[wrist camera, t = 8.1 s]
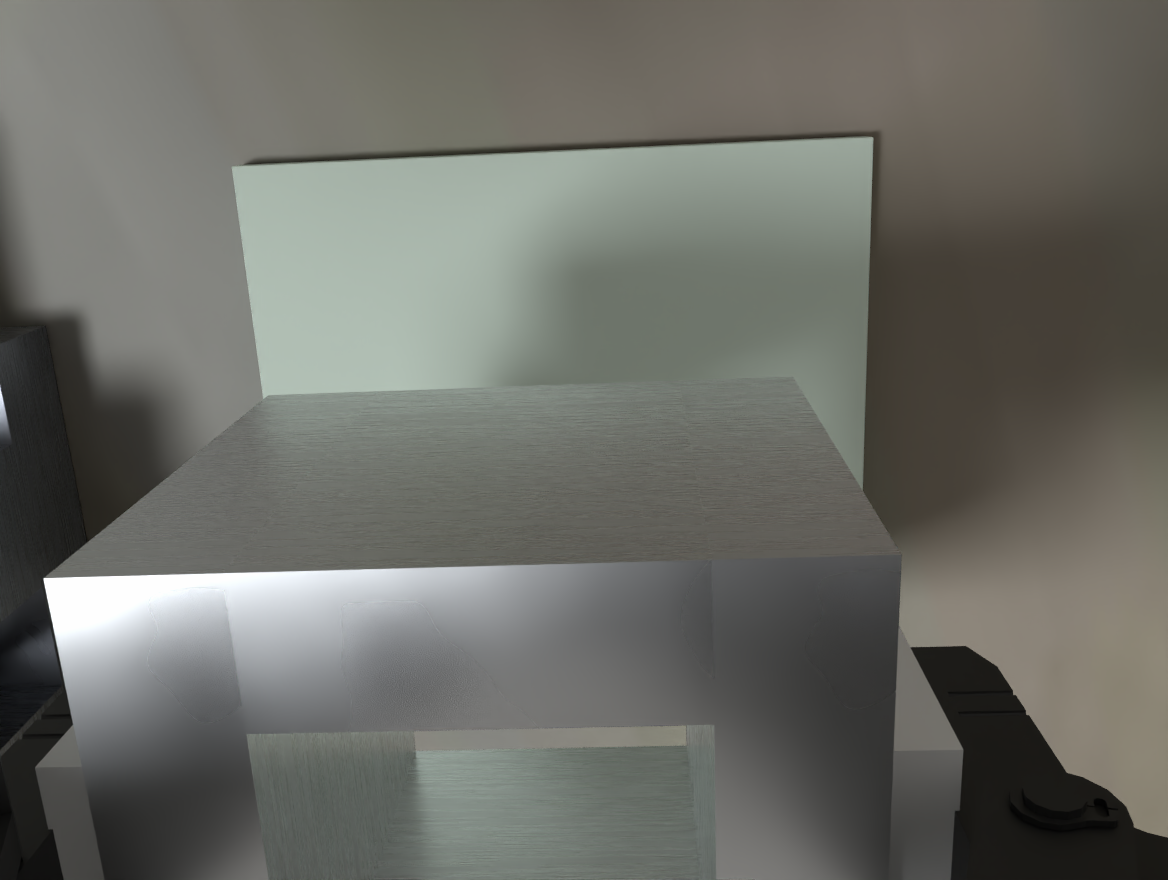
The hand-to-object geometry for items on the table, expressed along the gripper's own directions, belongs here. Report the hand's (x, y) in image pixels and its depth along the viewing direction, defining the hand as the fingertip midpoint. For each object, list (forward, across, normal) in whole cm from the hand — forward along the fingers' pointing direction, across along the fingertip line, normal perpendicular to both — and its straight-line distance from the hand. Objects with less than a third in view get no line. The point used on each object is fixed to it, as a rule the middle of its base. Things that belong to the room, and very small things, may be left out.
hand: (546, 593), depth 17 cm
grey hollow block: (-1, 0, 0) cm, 1 cm away
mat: (+7, 0, 0) cm, 7 cm away
